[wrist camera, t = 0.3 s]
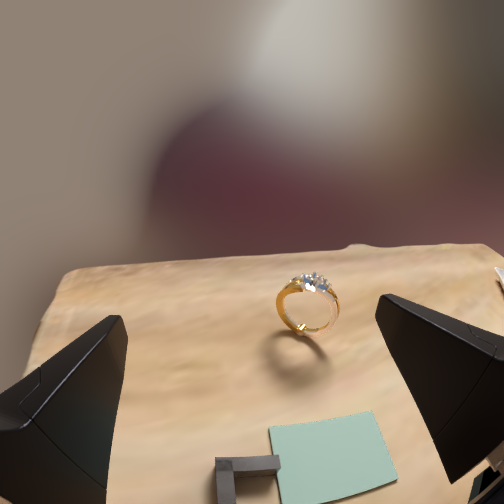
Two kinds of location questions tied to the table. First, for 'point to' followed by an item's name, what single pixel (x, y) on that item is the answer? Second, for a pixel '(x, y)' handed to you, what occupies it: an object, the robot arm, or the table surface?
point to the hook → (241, 472)
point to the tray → (500, 275)
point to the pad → (331, 459)
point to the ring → (312, 285)
